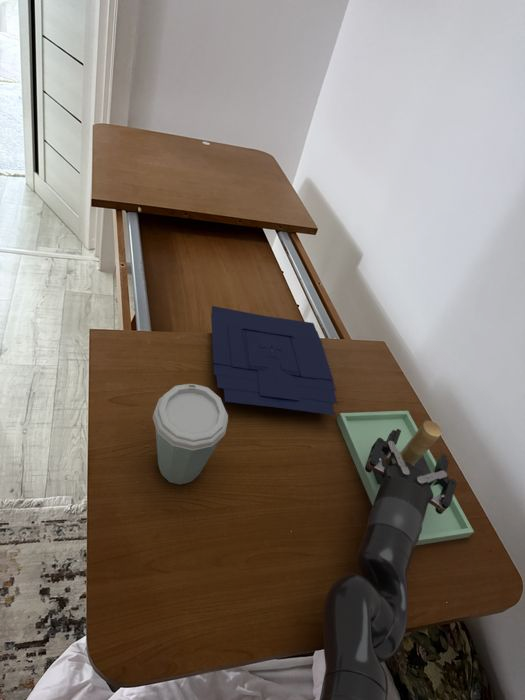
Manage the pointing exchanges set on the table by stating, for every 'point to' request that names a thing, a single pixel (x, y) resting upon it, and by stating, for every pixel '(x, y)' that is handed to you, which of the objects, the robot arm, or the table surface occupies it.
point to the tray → (373, 425)
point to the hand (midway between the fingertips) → (419, 444)
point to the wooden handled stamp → (417, 448)
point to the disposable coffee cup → (187, 430)
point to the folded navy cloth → (271, 362)
